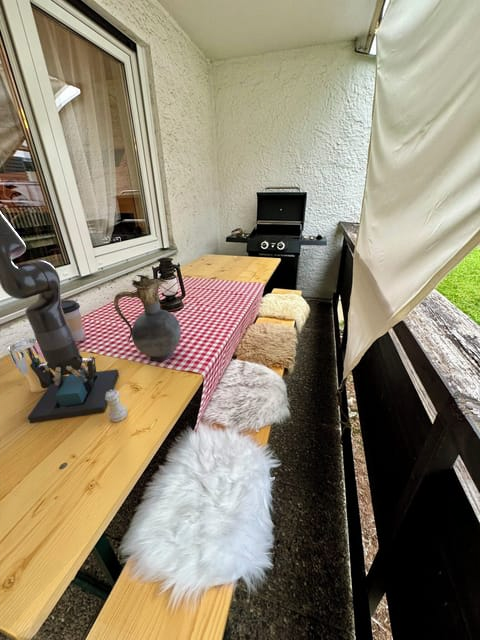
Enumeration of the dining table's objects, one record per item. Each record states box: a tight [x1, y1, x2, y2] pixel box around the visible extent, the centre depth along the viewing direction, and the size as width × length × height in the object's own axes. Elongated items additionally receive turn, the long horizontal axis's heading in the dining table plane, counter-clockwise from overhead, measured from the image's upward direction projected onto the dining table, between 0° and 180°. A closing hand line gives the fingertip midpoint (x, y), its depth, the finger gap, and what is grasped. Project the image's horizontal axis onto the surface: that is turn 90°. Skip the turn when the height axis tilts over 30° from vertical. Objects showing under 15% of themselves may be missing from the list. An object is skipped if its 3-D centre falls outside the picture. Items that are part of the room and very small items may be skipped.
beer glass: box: [7, 337, 50, 394], centre depth 75 cm, size 7×7×15 cm
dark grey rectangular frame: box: [27, 369, 120, 424], centre depth 74 cm, size 18×16×2 cm
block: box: [56, 369, 95, 408], centre depth 73 cm, size 6×10×4 cm, turn 10°
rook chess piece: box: [105, 389, 128, 423], centre depth 66 cm, size 4×4×8 cm
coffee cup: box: [61, 299, 86, 343], centre depth 99 cm, size 9×9×15 cm
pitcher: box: [113, 274, 182, 362], centre depth 84 cm, size 11×19×30 cm, turn 97°
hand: (77, 391), depth 73 cm, fingers closed on block, 5 cm apart
